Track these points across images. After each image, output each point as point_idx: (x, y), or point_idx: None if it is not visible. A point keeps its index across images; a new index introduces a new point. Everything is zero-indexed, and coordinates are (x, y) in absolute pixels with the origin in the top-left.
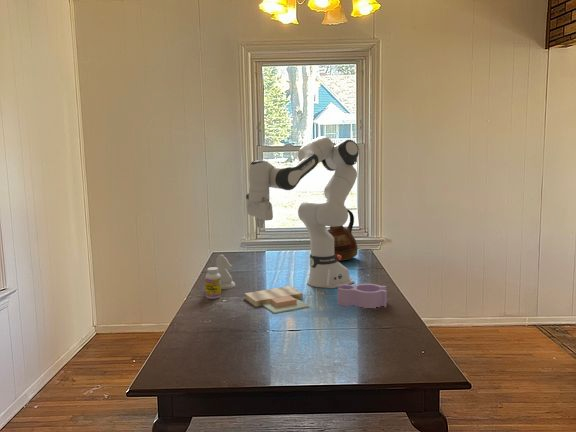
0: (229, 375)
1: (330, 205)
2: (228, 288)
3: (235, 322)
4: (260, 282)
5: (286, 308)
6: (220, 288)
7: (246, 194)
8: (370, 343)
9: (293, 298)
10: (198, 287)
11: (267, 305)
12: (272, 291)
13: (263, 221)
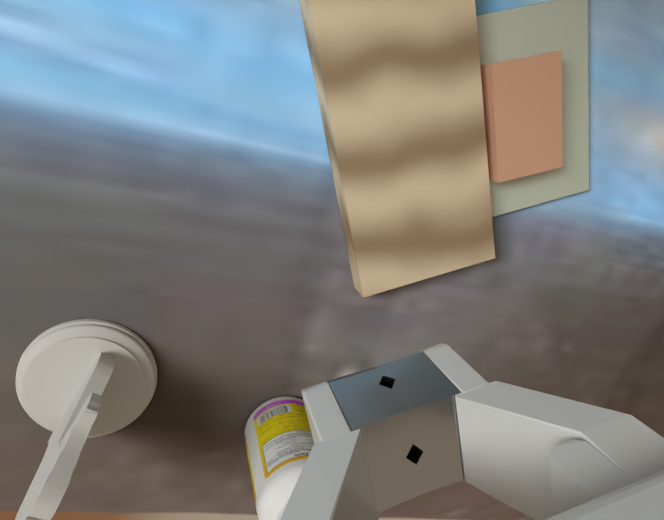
0: None
1: None
2: (154, 358)
3: (595, 342)
4: (45, 149)
5: (572, 122)
6: (307, 421)
7: None
8: None
9: (540, 61)
10: (94, 505)
11: (504, 200)
12: (382, 143)
13: (587, 421)
